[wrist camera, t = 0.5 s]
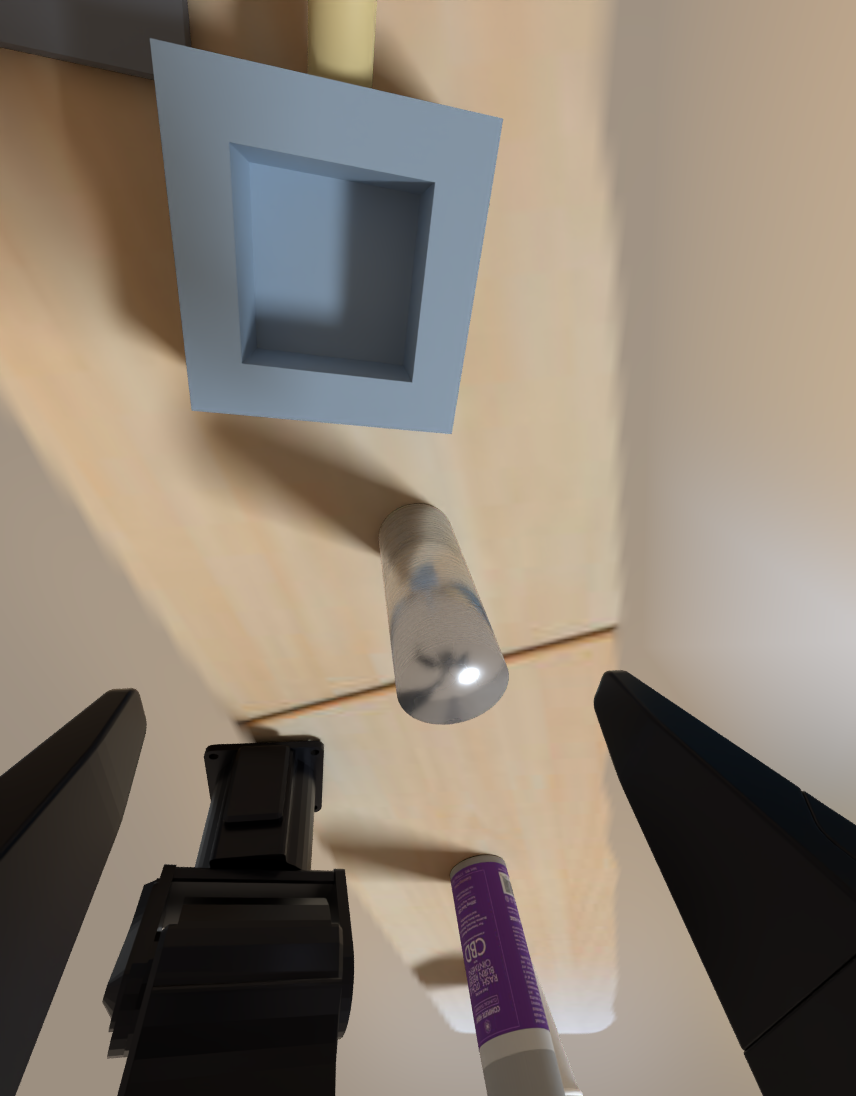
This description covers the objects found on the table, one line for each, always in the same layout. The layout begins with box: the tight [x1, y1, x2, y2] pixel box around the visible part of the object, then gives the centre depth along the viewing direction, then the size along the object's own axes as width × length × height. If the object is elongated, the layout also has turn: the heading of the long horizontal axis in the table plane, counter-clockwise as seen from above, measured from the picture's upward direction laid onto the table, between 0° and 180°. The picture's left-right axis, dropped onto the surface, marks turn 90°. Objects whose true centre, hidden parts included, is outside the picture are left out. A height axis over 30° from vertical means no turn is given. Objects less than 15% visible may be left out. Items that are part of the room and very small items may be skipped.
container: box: [450, 855, 565, 1096], centre depth 33 cm, size 5×5×15 cm
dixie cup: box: [532, 964, 583, 1096], centre depth 48 cm, size 8×8×10 cm
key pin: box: [379, 504, 509, 724], centre depth 18 cm, size 3×3×9 cm
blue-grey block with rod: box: [150, 0, 503, 434], centre depth 13 cm, size 16×8×4 cm, turn 172°
